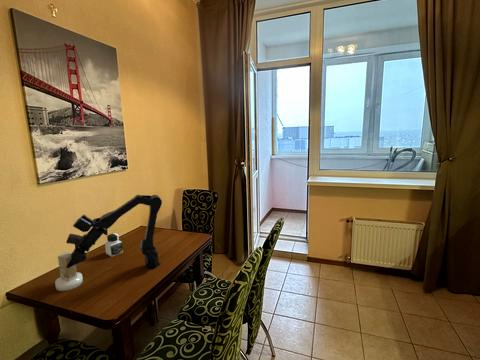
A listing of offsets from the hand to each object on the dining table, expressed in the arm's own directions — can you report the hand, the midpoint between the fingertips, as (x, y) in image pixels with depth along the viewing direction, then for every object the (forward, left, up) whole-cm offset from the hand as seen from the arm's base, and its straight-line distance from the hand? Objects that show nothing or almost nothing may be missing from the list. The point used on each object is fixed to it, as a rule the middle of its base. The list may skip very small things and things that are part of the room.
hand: (68, 263), depth 123 cm
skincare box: (0, 0, -8) cm, 8 cm away
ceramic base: (+1, +1, -11) cm, 11 cm away
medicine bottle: (+6, -32, -11) cm, 34 cm away
